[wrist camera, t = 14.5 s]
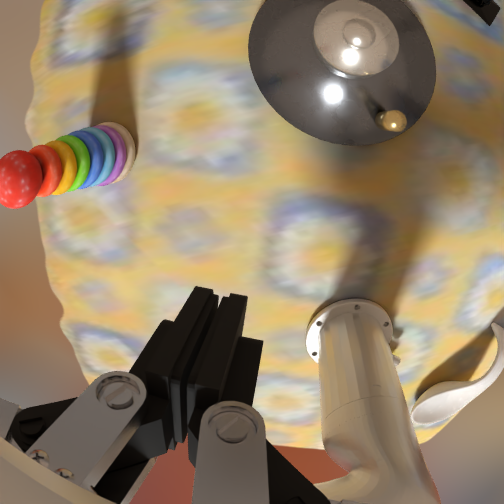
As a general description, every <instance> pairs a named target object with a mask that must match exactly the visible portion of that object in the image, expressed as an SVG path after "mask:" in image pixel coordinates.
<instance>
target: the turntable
mask: <svg viewBox="0 0 504 504" xmlns="http://www.w3.org/2000/svg"><path fill="white" fill-rule="evenodd" d="M335 1H338V0H267V1H266V2H265V3H264V4H263V5H262V7H261V8H260V10H259V11H258V13H257V15H256V17H255V19H254V21H253V24H252V27H251V31H250V34H249V43H248V52H249V61H250V66H251V70H252V73H253V76H254V79H255V81H256V83H257V85H258V87H259V89H260V91H261V93H262V94H263V96H264V97H265V98H266V100H267V101H268V103H269V104H270V105H271V106H272V107H273V108H274V110H275V111H276V112H277V113H278V114H279V115H281V116H282V117H283V118H284V119H285V120H286V121H288V122H289V123H290V124H292V125H293V126H294V127H296V128H298V129H299V130H301V131H303V132H305V133H307V134H309V135H311V136H314V137H316V138H318V139H321V140H324V141H328V142H331V143H336V144H342V145H355V146H359V145H371V144H375V143H380V142H384V141H386V140H389V139H392V138H394V137H396V136H398V135H400V134H402V133H403V132H405V131H406V130H407V129H409V128H410V127H411V126H412V125H413V124H414V123H415V122H416V121H417V120H418V119H419V118H420V117H421V115H422V114H423V113H424V111H425V110H426V108H427V106H428V104H429V102H430V100H431V97H432V94H433V91H434V86H435V79H436V65H435V57H434V53H433V49H432V46H431V43H430V40H429V38H428V36H427V34H426V32H425V30H424V28H423V26H422V25H421V23H420V22H419V20H418V19H417V17H416V16H415V15H414V14H413V13H412V12H411V10H410V9H409V8H408V7H407V6H406V5H405V4H404V3H402V2H401V1H400V0H360V1H363V2H366V3H369V4H371V5H373V6H375V7H376V8H378V9H379V10H381V11H382V12H383V13H384V14H385V15H386V16H387V17H388V18H389V19H390V20H391V22H392V23H393V25H394V27H395V29H396V31H397V34H398V39H399V50H398V54H397V56H396V58H395V60H394V61H393V63H392V64H391V65H390V66H389V67H387V68H386V69H384V70H383V71H381V72H379V73H377V74H375V75H373V76H371V77H369V78H365V79H348V78H344V77H341V76H338V75H336V74H334V73H333V72H331V71H330V70H328V69H327V68H326V67H325V66H324V65H323V64H322V63H321V62H320V61H319V59H318V58H317V56H316V54H315V52H314V50H313V46H312V33H313V29H314V25H315V21H316V18H317V16H318V14H319V13H320V12H321V10H322V9H323V8H324V7H326V6H327V5H329V4H330V3H332V2H335Z"/></svg>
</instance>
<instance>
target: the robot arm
mask: <svg viewBox="0 0 504 504" xmlns="http://www.w3.org/2000/svg"><path fill="white" fill-rule="evenodd" d="M247 299H248V296H243V295H238V294H233V293H230V296H229V297H225V296H223V298H222V300H221V302H220V305H219V307H218V300H219V296H218V295H215V294H213V289H208V288H203V287H198V286H196V287H195V288H194V290H193V291H192V293H191V294H190V296H189V298H188V299H187V301H186V303H185V304H184V306H183V308H182V309H181V311H180V313H179V314H178V316H177V317H176V319H175V321H174V322H173V321H169V320H163V321H162V322H161V323H160V325H159V326H158V328H157V329H156V331H155V332H154V334H153V335H152V337H151V338H150V340H149V341H148V343H147V344H146V346H145V348H144V349H143V351H142V352H141V354H140V355H139V357H138V359H137V360H136V362H135V363H134V365H133V366H132V368H131V370H130V371H129V373H128V372H123V371H113V372H108V373H105V374H103V375H101V376H99V377H98V378H97V379H95V380H94V381H93V382H92V383H91V384H90V385H89V387H88V388H87V389H86V390H85V391H84V392H83V393H82V394H81V395H80V396H79V397H76V398H72V399H68V400H63V401H59V402H54V403H49V404H45V405H39V406H34V407H29V408H26V409H21V407H20V405H17V404H15V403H12V402H9V401H6V400H4V399H1V398H0V504H129V503H130V501H131V499H132V498H133V496H134V495H135V493H136V492H137V490H138V489H139V487H140V486H141V484H142V483H143V481H144V479H145V478H146V476H147V475H148V473H149V472H150V470H151V468H152V467H153V465H154V464H155V462H156V459H157V456H159V455H162V454H165V453H167V450H168V449H172V450H175V447H176V445H177V442H180V443H183V442H184V441H185V438H186V436H187V433H188V452H189V453H188V454H189V460H190V462H191V463H192V464H193V466H194V467H195V477H194V486H193V496H192V504H441V501H440V497H439V494H438V491H437V488H436V486H435V483H434V481H433V478H432V476H431V474H430V471H429V469H428V467H427V464H426V462H425V460H424V457H423V455H422V452H421V449H420V446H419V443H418V440H417V437H416V433H415V430H414V427H413V424H412V420H411V417H410V413H409V410H408V407H407V404H406V400H405V397H404V393H403V390H402V387H401V384H400V380H399V377H398V374H397V371H396V368H395V366H397V365H398V364H399V363H400V358H399V357H397V356H395V355H392V352H391V349H390V346H389V343H390V341H391V338H392V333H393V328H392V322H391V320H390V317H389V315H388V314H387V312H386V311H385V310H384V309H383V308H382V307H381V306H380V305H378V304H377V303H375V302H372V301H369V300H365V299H346V300H341V301H338V302H336V303H333V304H331V305H329V306H327V307H325V308H324V309H323V310H321V311H320V312H319V313H318V314H317V315H316V316H315V317H314V318H313V319H312V321H311V322H310V324H309V326H308V328H307V331H306V348H307V351H308V353H309V355H310V357H311V358H312V359H313V360H314V361H315V362H316V363H318V367H319V384H320V402H321V426H322V441H323V445H324V448H325V450H326V452H327V454H328V455H329V456H330V457H331V459H332V460H333V461H334V462H336V463H337V464H338V465H340V466H341V467H342V468H344V469H345V470H346V471H348V472H349V474H348V475H346V476H344V477H341V478H338V479H334V480H331V481H328V482H324V483H318V484H312V483H311V482H310V481H308V479H306V478H305V477H304V476H303V475H302V474H301V473H300V472H299V471H298V470H297V469H296V468H295V467H294V466H293V465H292V464H291V463H290V462H289V461H288V460H286V459H285V458H284V457H283V456H282V455H281V454H280V453H279V452H278V451H277V450H276V449H275V448H274V447H273V446H272V445H271V443H270V442H269V441H268V440H267V439H266V433H265V424H264V420H263V418H262V416H261V415H260V414H259V412H258V411H256V410H255V409H254V408H253V407H252V404H253V398H254V393H255V387H256V382H257V376H258V370H259V364H260V359H261V353H262V347H263V340H257V339H252V338H247V337H242V332H243V325H244V319H245V312H246V306H247Z"/></svg>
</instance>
